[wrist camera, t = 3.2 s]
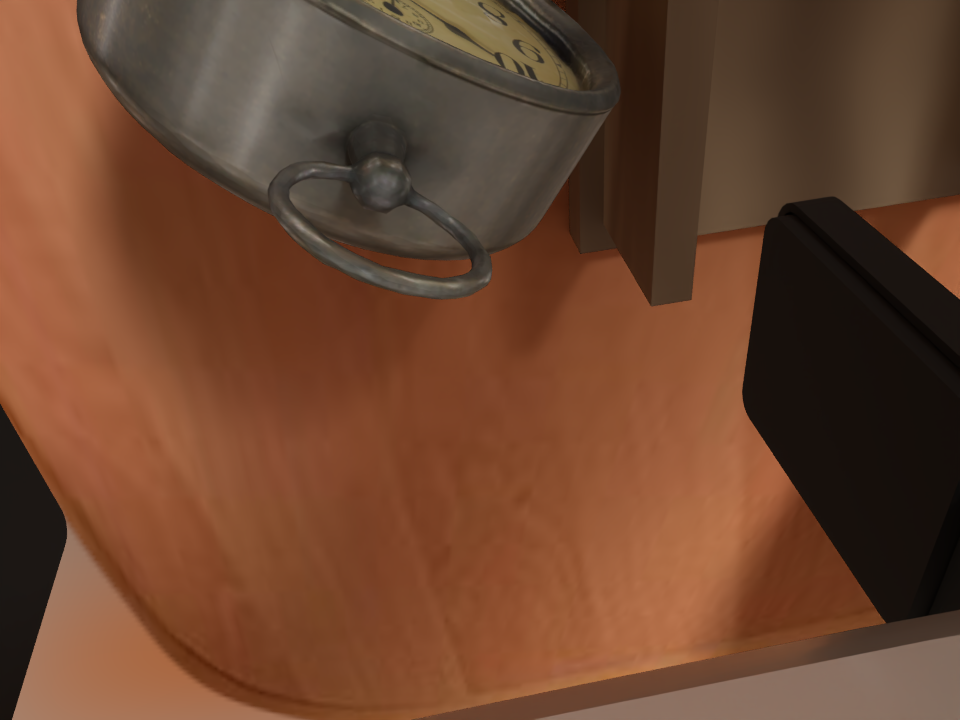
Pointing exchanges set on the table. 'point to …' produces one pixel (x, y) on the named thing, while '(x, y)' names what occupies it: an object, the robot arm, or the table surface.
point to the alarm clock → (367, 116)
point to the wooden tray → (760, 119)
